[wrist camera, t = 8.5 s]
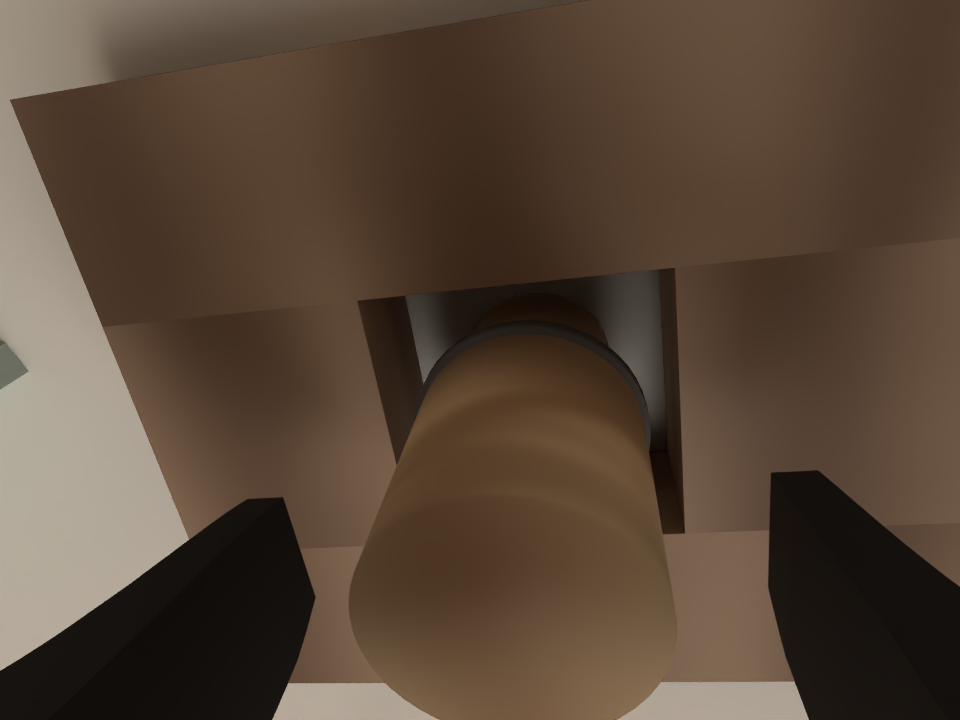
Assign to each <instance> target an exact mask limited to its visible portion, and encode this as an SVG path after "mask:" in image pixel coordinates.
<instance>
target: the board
mask: <svg viewBox="0 0 960 720" xmlns="http://www.w3.org/2000/svg"><path fill="white" fill-rule="evenodd" d="M10 101H11V104H12V106H13V108H14V111H15V113H16V116H17V118H18V121H19V123H20V126H21V128H22V131H23V133H24V135H25V138H26V140H27V143H28V145H29V148H30V150H31V153H32V155H33V157H34V160H35V162H36V165H37V167H38V170H39V172H40V175H41V177H42V180H43V182H44V184H45V187H46V189H47V192H48V194H49V197H50V199H51V202H52V204H53V207H54V209H55V211H56V214H57V216H58V219H59V221H60V224H61V226H62V229H63V231H64V233H65V236H66V238H67V241H68V243H69V246H70V248H71V251H72V253H73V256H74V258H75V260H76V263H77V265H78V268H79V270H80V273H81V275H82V278H83V280H84V282H85V285H86V287H87V290H88V292H89V295H90V297H91V300H92V302H93V305H94V307H95V309H96V312H97V314H98V317H99V319H100V322H101V324H102V327H103V329H104V331H105V334H106V336H107V339H108V341H109V344H110V346H111V349H112V351H113V354H114V356H115V358H116V361H117V363H118V366H119V368H120V371H121V373H122V376H123V378H124V381H125V383H126V385H127V388H128V390H129V393H130V395H131V398H132V400H133V403H134V405H135V407H136V410H137V412H138V415H139V417H140V420H141V422H142V425H143V427H144V430H145V432H146V434H147V437H148V439H149V442H150V444H151V447H152V449H153V452H154V454H155V456H156V459H157V461H158V464H159V466H160V469H161V471H162V474H163V476H164V479H165V481H166V483H167V486H168V488H169V491H170V493H171V496H172V498H173V501H174V503H175V505H176V508H177V510H178V513H179V515H180V518H181V520H182V523H183V525H184V528H185V530H186V532H187V535H188V537H189V540H190V539H191V538H192V537H194V536H195V535H196V534H198V533H199V532H200V531H202V530H203V529H204V528H206V527H207V526H208V525H210V524H211V523H212V522H214V521H215V520H217V519H218V518H219V517H221V516H222V515H224V514H225V513H226V512H228V511H229V510H231V509H232V508H234V507H235V506H237V505H238V504H240V503H242V502H243V501H245V500H246V499H255V498H275V497H283V498H284V501H285V504H286V507H287V510H288V513H289V517H290V520H291V523H292V526H293V529H294V532H295V535H296V538H297V541H298V544H299V547H300V550H301V553H302V556H303V560H304V563H305V566H306V569H307V572H308V575H309V578H310V581H311V584H312V587H313V590H314V593H315V596H316V598H315V602H314V606H313V610H312V613H311V617H310V621H309V624H308V628H307V632H306V635H305V638H304V641H303V645H302V648H301V651H300V654H299V658H298V661H297V663H296V665H295V668H294V670H293V673H292V675H291V677H290V680H289V682H288V683H385V682H384V681H383V680H382V679H381V678H380V677H379V676H378V675H377V673H376V672H375V671H374V670H373V668H372V667H371V666H370V664H369V663H368V662H367V660H366V658H365V657H364V655H363V653H362V652H361V650H360V648H359V646H358V643H357V641H356V639H355V636H354V634H353V630H352V626H351V622H350V618H349V604H348V600H349V591H350V584H351V581H352V578H353V574H354V571H355V568H356V566H357V563H358V561H359V558H360V556H361V553H362V551H363V548H364V546H365V543H366V541H367V538H368V536H369V533H370V531H371V529H372V526H373V524H374V521H375V519H376V516H377V514H378V511H379V509H380V506H381V504H382V501H383V499H384V496H385V494H386V491H387V489H388V486H389V484H390V481H391V479H392V476H393V474H394V471H395V469H396V466H397V464H398V462H399V459H400V457H401V454H402V452H403V449H404V447H405V444H406V442H407V439H408V437H409V434H410V432H411V429H412V427H413V424H414V417H415V410H416V405H417V402H418V398H419V395H420V392H421V390H422V388H423V382H422V377H421V373H420V368H419V363H418V358H417V353H416V349H415V344H414V339H413V334H412V330H411V325H410V320H409V315H408V310H407V306H406V301H405V296H407V295H417V294H426V293H436V292H445V291H455V290H465V289H474V288H484V287H494V286H503V285H513V284H522V283H532V282H542V281H551V280H561V279H571V278H580V277H590V276H599V275H609V274H619V273H628V272H638V271H648V270H657V269H659V277H660V298H661V319H662V340H663V362H664V383H665V404H666V425H667V446H668V451H664V452H649V456H650V462H651V468H652V474H653V480H654V486H655V492H656V498H657V504H658V510H659V516H660V522H661V528H662V534H663V540H664V546H665V552H666V558H667V564H668V570H669V576H670V582H671V588H672V594H673V600H674V606H675V612H676V619H677V643H676V647H675V652H674V657H673V659H672V661H671V664H670V666H669V669H668V671H667V673H666V674H665V676H664V677H663V679H662V681H661V682H772V681H794V678H793V676H792V673H791V670H790V668H789V665H788V662H787V659H786V657H785V653H784V649H783V645H782V642H781V638H780V634H779V630H778V626H777V622H776V618H775V614H774V610H773V606H772V602H771V598H770V594H769V589H768V564H769V523H770V482H771V473H772V472H792V471H811V470H819V471H820V472H821V473H822V474H823V475H825V476H826V477H827V478H828V479H829V480H830V481H832V482H833V483H834V484H835V485H836V486H837V487H839V488H840V489H841V490H842V491H843V492H844V493H846V494H847V495H848V496H849V497H850V498H851V499H853V500H854V501H855V502H856V503H857V504H858V505H860V506H861V507H862V508H863V509H864V510H865V511H867V512H868V513H869V514H870V515H871V516H872V517H874V518H875V519H876V520H877V521H878V522H880V523H881V524H882V525H883V526H884V527H885V528H887V529H888V530H889V531H890V532H891V533H893V534H894V535H895V536H896V537H897V538H899V539H900V540H901V541H902V542H903V543H905V544H906V545H907V546H908V547H910V548H911V549H912V550H913V551H915V552H916V553H917V554H918V555H920V556H921V557H922V558H923V559H925V560H926V561H927V562H928V563H930V564H931V565H932V566H933V567H935V568H936V569H937V570H939V571H940V572H941V573H942V574H944V575H945V576H946V577H948V578H949V579H950V580H952V581H953V582H954V583H956V584H957V585H958V586H960V0H586V1H581V2H575V3H569V4H563V5H557V6H551V7H546V8H540V9H534V10H528V11H522V12H517V13H511V14H505V15H499V16H493V17H488V18H482V19H476V20H470V21H464V22H459V23H453V24H447V25H441V26H435V27H430V28H424V29H418V30H412V31H406V32H401V33H395V34H389V35H383V36H377V37H372V38H366V39H360V40H354V41H348V42H343V43H337V44H331V45H325V46H319V47H314V48H308V49H302V50H296V51H290V52H285V53H279V54H273V55H267V56H261V57H256V58H250V59H244V60H238V61H232V62H227V63H221V64H215V65H209V66H203V67H198V68H192V69H186V70H180V71H174V72H169V73H163V74H157V75H151V76H145V77H140V78H134V79H128V80H122V81H116V82H111V83H105V84H99V85H93V86H87V87H82V88H76V89H70V90H64V91H58V92H53V93H47V94H41V95H35V96H29V97H24V98H18V99H12V100H10Z"/></svg>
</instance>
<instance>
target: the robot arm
mask: <svg viewBox="0 0 960 720" xmlns="http://www.w3.org/2000/svg"><path fill="white" fill-rule="evenodd" d="M768 589H769V594H770V598H771V602H772V606H773V610H774V614H775V618H776V622H777V626H778V630H779V634H780V638H781V642H782V645H783V649H784V653H785V657H786V659H787V662H788V665H789V668H790V670H791V673H792V676H793V678H794V681H795V684H796V686H797V689H798V691H799V694H800V697H801V699H802V702H803V705H804V707H805V710H806V713H807V715H808V718H809V720H960V586H958V585H957V584H956V583H954V582H953V581H952V580H950V579H949V578H948V577H946V576H945V575H944V574H942V573H941V572H940V571H939V570H937V569H936V568H935V567H933V566H932V565H931V564H930V563H928V562H927V561H926V560H925V559H923V558H922V557H921V556H920V555H918V554H917V553H916V552H915V551H913V550H912V549H911V548H910V547H908V546H907V545H906V544H905V543H903V542H902V541H901V540H900V539H899V538H897V537H896V536H895V535H894V534H893V533H891V532H890V531H889V530H888V529H887V528H885V527H884V526H883V525H882V524H881V523H880V522H878V521H877V520H876V519H875V518H874V517H872V516H871V515H870V514H869V513H868V512H867V511H865V510H864V509H863V508H862V507H861V506H860V505H858V504H857V503H856V502H855V501H854V500H853V499H851V498H850V497H849V496H848V495H847V494H846V493H844V492H843V491H842V490H841V489H840V488H839V487H837V486H836V485H835V484H834V483H833V482H832V481H830V480H829V479H828V478H827V477H826V476H825V475H823V474H822V473H821V472H820V471H819V470H811V471H792V472H772V473H771V482H770V523H769V564H768ZM315 598H316V596H315V593H314V590H313V587H312V584H311V581H310V578H309V575H308V572H307V569H306V566H305V563H304V560H303V556H302V553H301V550H300V547H299V544H298V541H297V538H296V535H295V532H294V529H293V526H292V523H291V520H290V517H289V513H288V510H287V507H286V504H285V501H284V498H283V497H275V498H255V499H246V500H245V501H243V502H242V503H240V504H238V505H237V506H235V507H234V508H232V509H231V510H229V511H228V512H226V513H225V514H224V515H222V516H221V517H219V518H218V519H217V520H215V521H214V522H212V523H211V524H210V525H208V526H207V527H206V528H204V529H203V530H202V531H200V532H199V533H198V534H196V535H195V536H194V537H192V538H191V539H190V540H188V541H187V542H186V543H184V544H183V545H182V546H180V547H179V548H178V549H176V550H175V551H174V552H172V553H171V554H170V555H168V556H167V557H165V558H164V559H163V560H161V561H160V562H159V563H157V564H156V565H155V566H153V567H152V568H151V569H149V570H148V571H147V572H145V573H144V574H143V575H141V576H140V577H139V578H137V579H136V580H135V581H133V582H132V583H131V584H129V585H128V586H126V587H125V588H124V589H122V590H121V591H119V592H118V593H117V594H115V595H114V596H112V597H111V598H109V599H108V600H107V601H105V602H104V603H102V604H101V605H99V606H98V607H97V608H95V609H94V610H92V611H91V612H89V613H88V614H87V615H85V616H84V617H82V618H81V619H79V620H78V621H77V622H75V623H74V624H72V625H71V626H69V627H68V628H66V629H65V630H64V631H62V632H61V633H59V634H58V635H56V636H55V637H53V638H52V639H50V640H49V641H47V642H46V643H44V644H43V645H41V646H39V647H38V648H36V649H35V650H33V651H32V652H30V653H28V654H27V655H25V656H24V657H22V658H21V659H19V660H17V661H16V662H14V663H12V664H11V665H9V666H7V667H6V668H4V669H3V670H1V671H0V720H272V719H273V717H274V714H275V712H276V710H277V708H278V705H279V703H280V701H281V698H282V696H283V694H284V691H285V689H286V687H287V684H288V682H289V680H290V677H291V675H292V673H293V670H294V668H295V665H296V663H297V661H298V658H299V654H300V651H301V648H302V645H303V641H304V638H305V635H306V632H307V628H308V624H309V621H310V617H311V613H312V610H313V606H314V602H315Z"/></svg>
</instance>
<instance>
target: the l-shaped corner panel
mask: <svg viewBox="0 0 960 720" xmlns="http://www.w3.org/2000/svg"><path fill="white" fill-rule="evenodd" d="M27 372H28V370H27V369H26V367H25V366H24V365H23V364H22V362H21V361H20V360H19V359H18V357H17V356H16V355H15V354H14V352H13V351H12V350H11V349H10V348H9V346H8V345H7V344H6V343H4V344H2V345H0V389H2V388H3V387H5V386H6V385H8V384H10V383H11V382H13V381H14V380H16V379H17V378H19V377H21V376H22V375H24V374H25V373H27Z"/></svg>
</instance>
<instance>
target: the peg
mask: <svg viewBox="0 0 960 720" xmlns="http://www.w3.org/2000/svg"><path fill="white" fill-rule="evenodd" d="M650 435H651V428H650V421H649V415H648V409H647V404H646V401H645V397H644V394H643V391H642V389H641V387H640V385H639V383H638V381H637V379H636V377H635V375H634V374H633V372H632V371H631V370H630V368H629V367H628V365H627V364H626V363H625V362H624V361H623V360H622V359H621V358H620V356H619V355H618V354H616V353H615V352H614V351H613V350H612V349H611V348H609V347H608V343H607V340H606V337H605V334H604V332H603V330H602V328H601V326H600V325H599V324H598V322H597V321H596V319H595V318H594V317H593V316H592V315H591V314H590V313H589V312H588V311H587V310H585V309H584V308H583V307H581V306H580V305H578V304H577V303H575V302H573V301H571V300H569V299H567V298H564V297H561V296H558V295H553V294H546V293H529V294H523V295H519V296H516V297H512V298H510V299H508V300H505V301H503V302H501V303H500V304H498V305H497V306H495V307H494V308H493V309H491V310H490V311H489V312H488V313H487V314H486V315H485V316H484V317H483V318H482V320H481V321H480V323H479V324H478V326H477V328H476V330H475V332H474V333H471V334H469V335H468V336H466V337H465V338H463V339H461V340H460V341H458V342H457V343H456V344H454V345H453V346H452V347H451V348H449V349H448V350H447V351H446V352H445V353H444V354H443V355H442V356H441V358H440V359H439V360H438V361H437V362H436V364H435V365H434V367H433V368H432V370H431V371H430V373H429V375H428V377H427V379H426V381H425V383H424V385H423V388H422V390H421V392H420V395H419V398H418V402H417V405H416V410H415V417H414V424H413V427H412V429H411V432H410V434H409V437H408V439H407V442H406V444H405V447H404V449H403V452H402V454H401V457H400V459H399V462H398V464H397V466H396V469H395V471H394V474H393V476H392V479H391V481H390V484H389V486H388V489H387V491H386V494H385V496H384V499H383V501H382V504H381V506H380V509H379V511H378V514H377V516H376V519H375V521H374V524H373V526H372V529H371V531H370V533H369V536H368V538H367V541H366V543H365V546H364V548H363V551H362V553H361V556H360V558H359V561H358V563H357V566H356V568H355V571H354V574H353V578H352V581H351V584H350V591H349V600H348V604H349V618H350V622H351V626H352V630H353V634H354V636H355V639H356V641H357V643H358V646H359V648H360V650H361V652H362V653H363V655H364V657H365V658H366V660H367V662H368V663H369V664H370V666H371V667H372V668H373V670H374V671H375V672H376V673H377V675H378V676H379V677H380V678H381V679H382V680H383V681H384V682H385V683H386V684H387V685H388V686H389V687H390V688H391V689H392V690H394V691H395V692H396V693H397V694H398V695H400V696H401V697H402V698H403V699H405V700H406V701H408V702H409V703H411V704H412V705H414V706H415V707H417V708H418V709H420V710H422V711H424V712H426V713H428V714H429V715H431V716H433V717H435V718H437V719H440V720H616V719H618V718H620V717H622V716H624V715H625V714H627V713H628V712H630V711H631V710H633V709H635V708H636V707H637V706H638V705H639V704H641V703H642V702H643V701H644V700H645V699H646V698H648V697H649V695H650V694H651V693H652V692H653V691H654V690H655V689H656V688H657V686H658V685H659V684H660V682H661V681H662V679H663V677H664V676H665V674H666V673H667V671H668V669H669V666H670V664H671V661H672V659H673V657H674V652H675V647H676V643H677V619H676V612H675V606H674V600H673V594H672V588H671V582H670V576H669V570H668V564H667V558H666V552H665V546H664V540H663V534H662V528H661V522H660V516H659V510H658V504H657V498H656V492H655V486H654V480H653V474H652V468H651V462H650V456H649V448H650Z"/></svg>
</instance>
